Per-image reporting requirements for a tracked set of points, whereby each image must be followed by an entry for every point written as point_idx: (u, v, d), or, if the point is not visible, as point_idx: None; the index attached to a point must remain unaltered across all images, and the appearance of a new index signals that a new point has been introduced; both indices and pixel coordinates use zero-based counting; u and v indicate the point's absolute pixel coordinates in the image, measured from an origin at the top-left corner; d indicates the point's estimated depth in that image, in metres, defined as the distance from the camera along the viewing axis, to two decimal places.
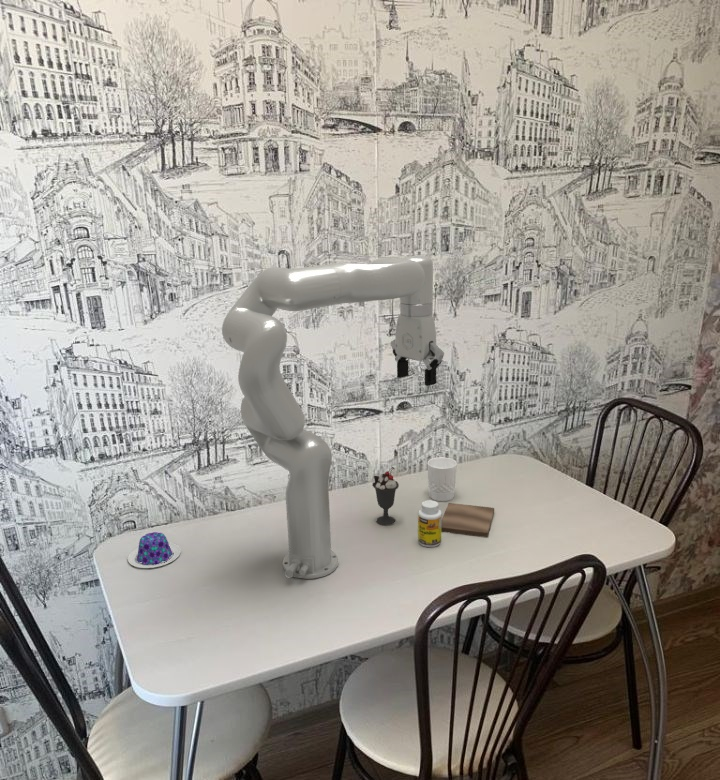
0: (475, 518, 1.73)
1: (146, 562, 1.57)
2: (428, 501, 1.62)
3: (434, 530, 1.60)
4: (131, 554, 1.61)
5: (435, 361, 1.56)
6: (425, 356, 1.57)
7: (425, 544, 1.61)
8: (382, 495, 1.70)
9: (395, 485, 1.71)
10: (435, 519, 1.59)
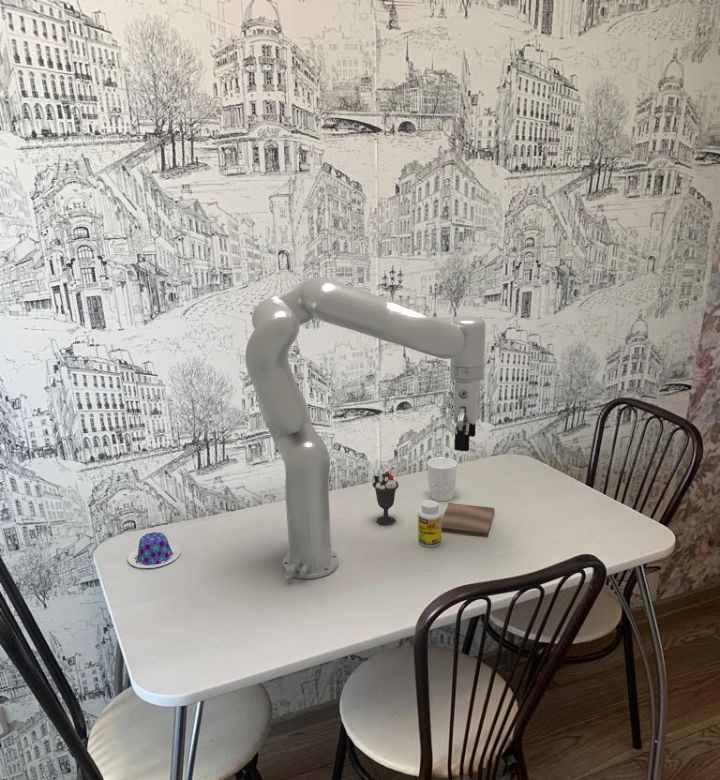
0: (475, 518, 1.73)
1: (147, 562, 1.57)
2: (428, 501, 1.62)
3: (434, 530, 1.60)
4: (130, 555, 1.60)
5: None
6: None
7: (425, 544, 1.61)
8: (382, 495, 1.70)
9: (395, 485, 1.71)
10: (435, 519, 1.59)
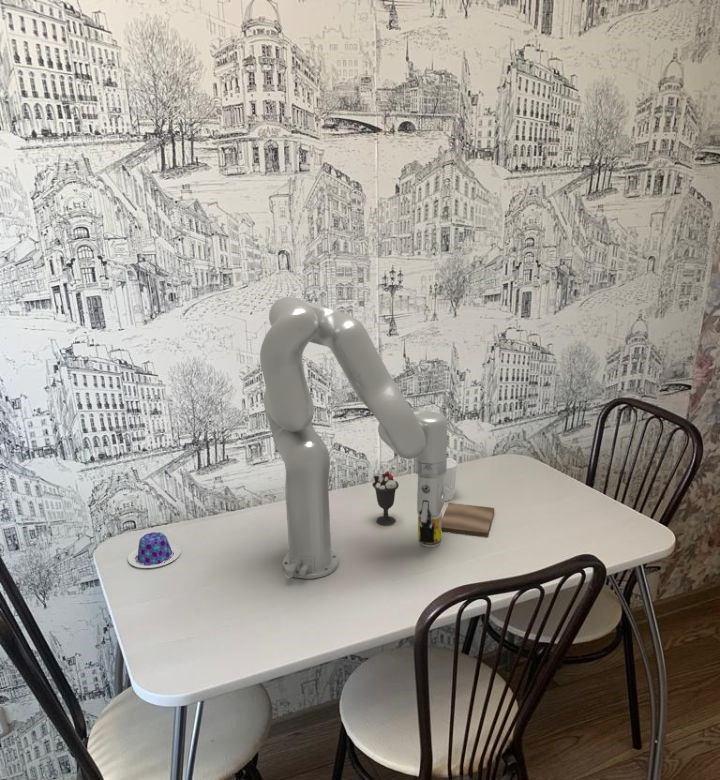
0: (475, 518, 1.73)
1: (149, 562, 1.57)
2: None
3: (434, 530, 1.60)
4: (130, 556, 1.60)
5: None
6: None
7: (425, 544, 1.61)
8: (382, 495, 1.70)
9: (395, 485, 1.71)
10: (435, 519, 1.59)
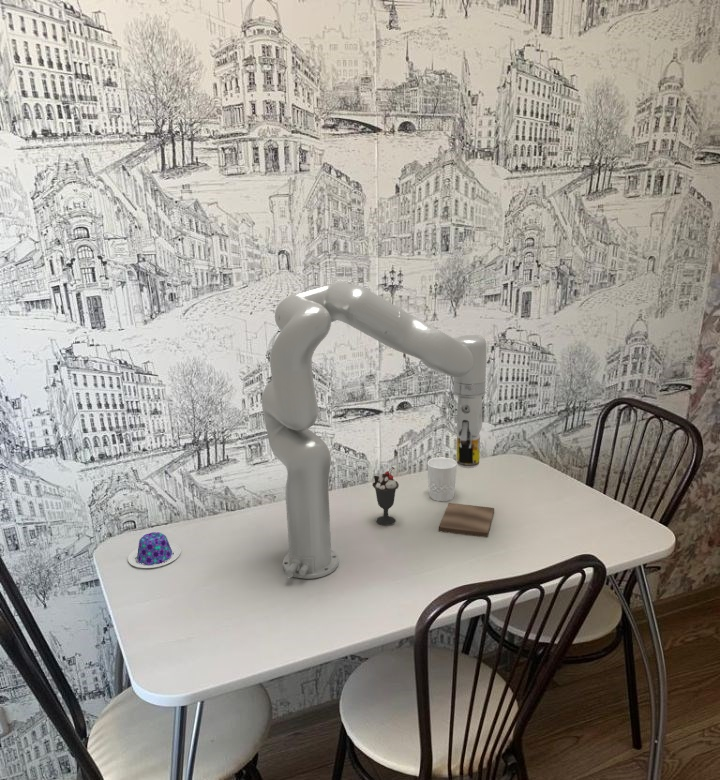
0: (475, 518, 1.73)
1: (150, 562, 1.57)
2: None
3: (473, 451, 1.65)
4: (130, 557, 1.59)
5: None
6: None
7: (464, 465, 1.66)
8: (383, 495, 1.70)
9: (395, 485, 1.71)
10: (474, 440, 1.64)
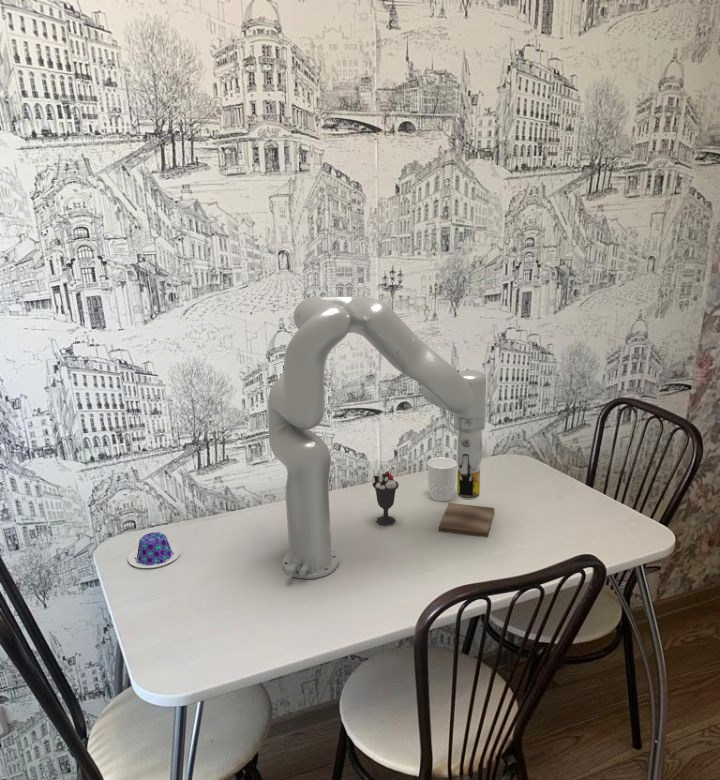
0: (475, 518, 1.73)
1: (151, 562, 1.57)
2: None
3: (474, 484, 1.68)
4: (129, 558, 1.59)
5: None
6: None
7: (464, 497, 1.69)
8: (383, 495, 1.70)
9: (395, 485, 1.71)
10: (474, 472, 1.67)
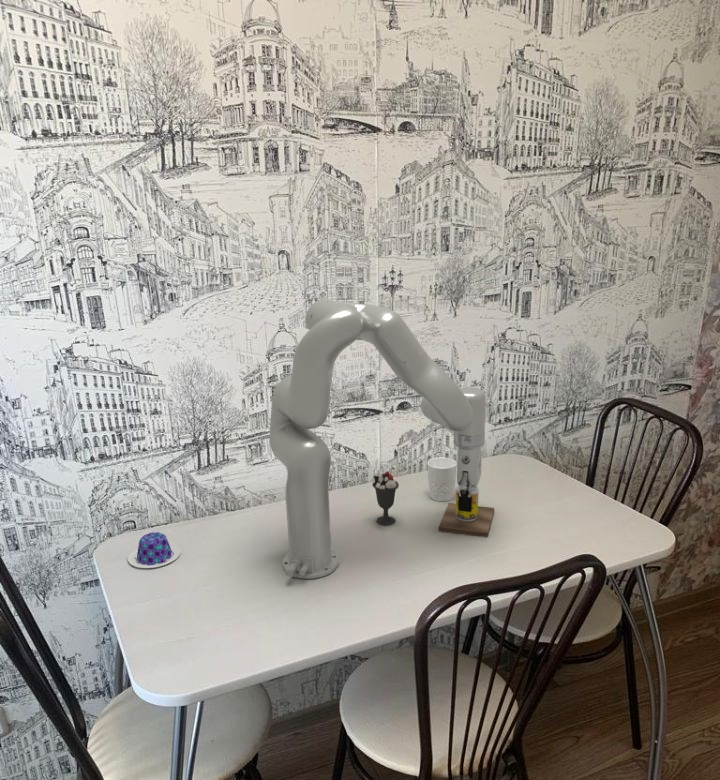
0: None
1: (152, 562, 1.57)
2: None
3: (472, 505, 1.69)
4: (129, 558, 1.59)
5: None
6: None
7: (463, 519, 1.70)
8: (382, 495, 1.70)
9: (395, 485, 1.71)
10: (473, 495, 1.68)
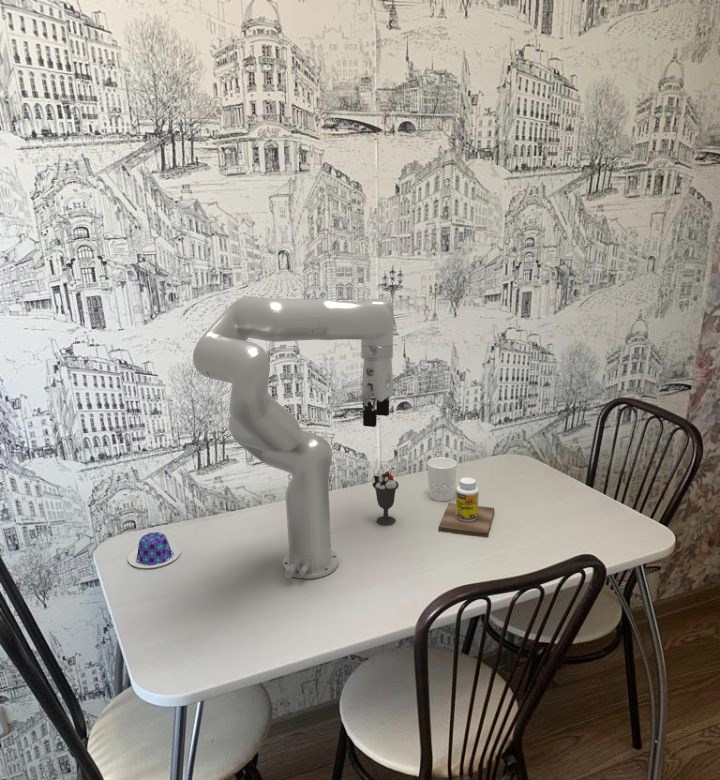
0: None
1: (153, 562, 1.57)
2: (466, 478, 1.71)
3: (472, 506, 1.69)
4: (129, 559, 1.58)
5: None
6: None
7: (463, 519, 1.70)
8: (382, 495, 1.70)
9: (395, 485, 1.71)
10: (473, 495, 1.68)
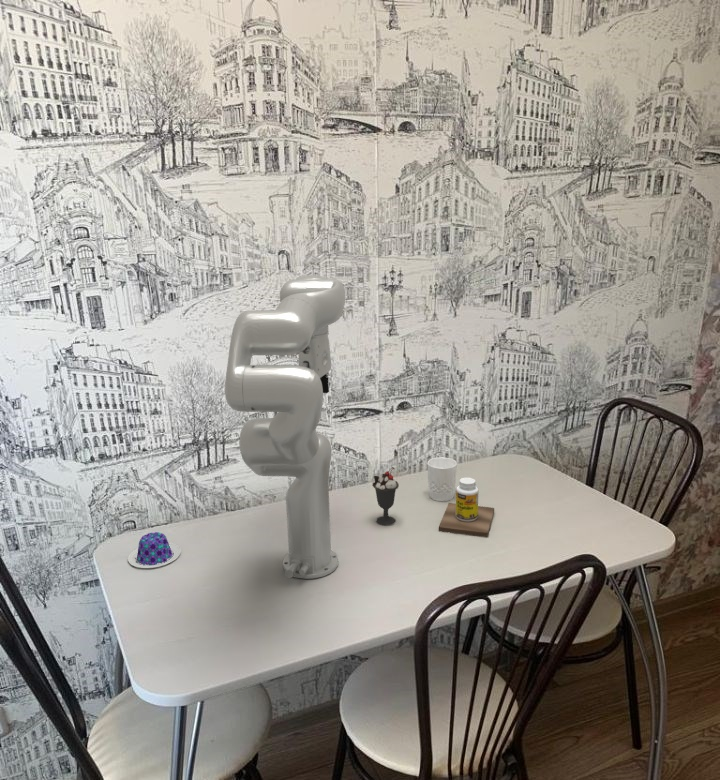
0: None
1: (154, 562, 1.57)
2: (465, 478, 1.71)
3: (472, 506, 1.69)
4: (130, 560, 1.58)
5: None
6: None
7: (463, 519, 1.70)
8: (382, 495, 1.70)
9: (395, 485, 1.71)
10: (473, 495, 1.68)
